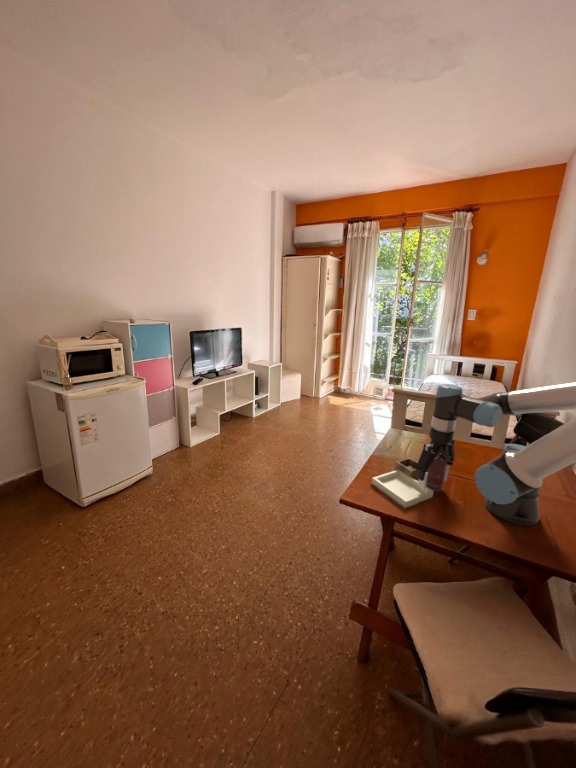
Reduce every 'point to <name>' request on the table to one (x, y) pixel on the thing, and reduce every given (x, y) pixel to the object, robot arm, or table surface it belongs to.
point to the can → (436, 474)
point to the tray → (402, 488)
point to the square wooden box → (403, 467)
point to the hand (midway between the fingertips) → (432, 483)
